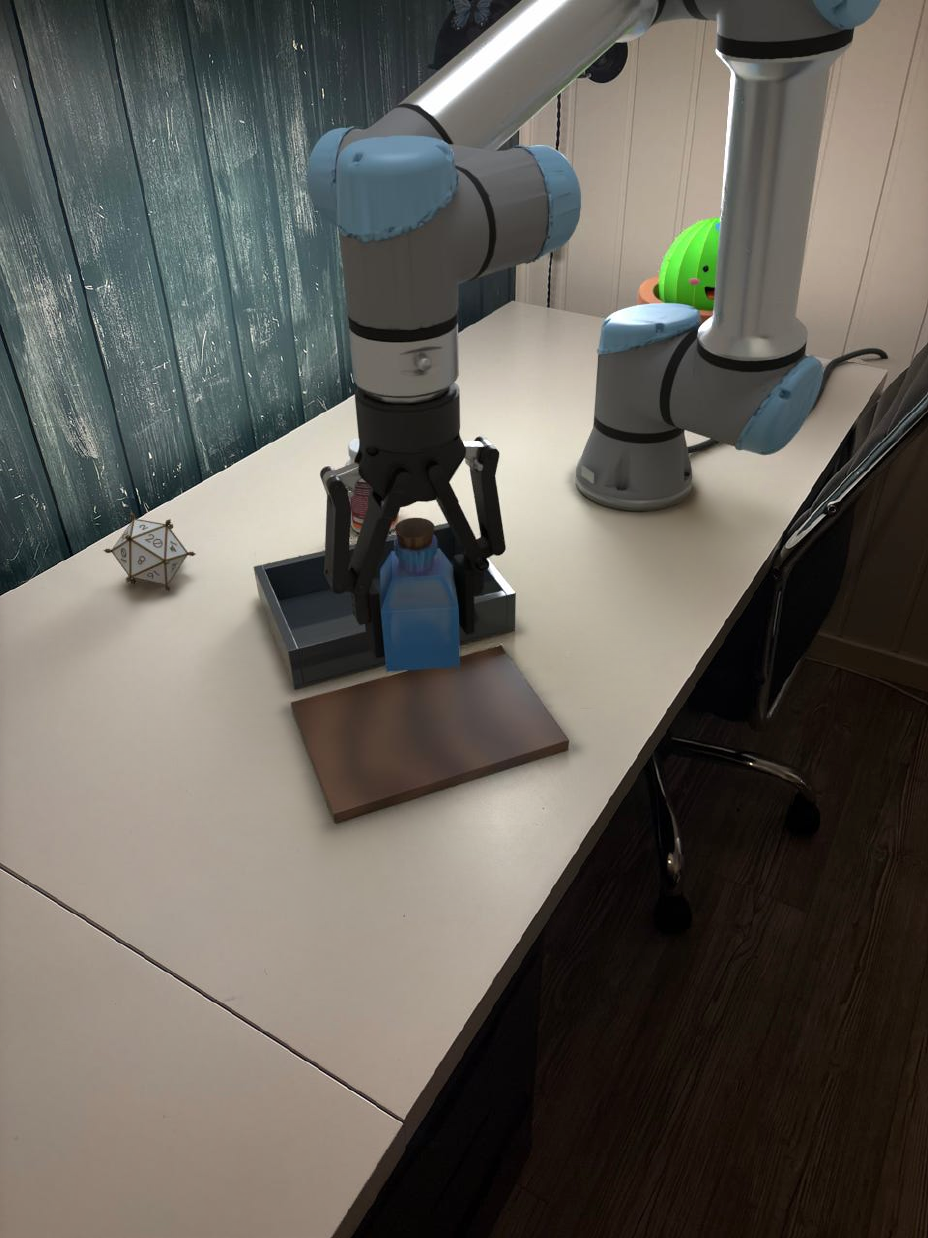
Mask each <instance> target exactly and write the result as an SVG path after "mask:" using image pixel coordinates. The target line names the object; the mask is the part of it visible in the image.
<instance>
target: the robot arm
mask: <svg viewBox="0 0 928 1238" xmlns="http://www.w3.org/2000/svg"><path fill="white" fill-rule="evenodd" d="M881 2H882V0H520V2H518V3H517V4H516V5H515V6H513V7H512V8H511V9H510V10H509V11H507V12H506V13H505V14H504V15H502V16H501V17H500V18H499V19H498V20H496V22H495V23H493V24H492V25H491V26H489V27H488V28H487V29H486V30H485V31H483V32H482V34H480V35H479V36H478V37H477V38H476V39H474V40H472V41H471V43H469V44H468V45H467V46H466V47H465V48H463V50H461V51H460V52H459V53H458V54H457V55H455V56H453V58H452V59H450V60H449V61H448V62H447V63H446V64H444V65H443V67H441V68H440V69H439V70H437V71H436V72H435V73H434V74H432V75H431V77H429V78H428V79H426V81H424V82H423V83H422V84H421V85H419V87H417V88H416V89H415V90H414V91H413V92H411V93H410V94H409V95H408V96H407V97H406V98H404V99H403V100H402V101H401V102H400V103H398V104H397V105H396V106H395V107H393V108H392V109H391V110H390V111H388V112H387V113H386V114H385V115H383V116H382V117H381V118H380V119H378V120H377V121H376V122H375V123H374V124H372V125H371V126H370V127H368V128H365V129H364V127H362V126H357V125H356V126H354V125H353V126H350V127H339V128H334V129H331V130H329V131H327V132H326V133H324V134H323V135H322V136H321V137H320V138H319V139H318V141H317V142H316V143H315V145H314V147H313V149H312V151H311V153H310V156H309V158H308V159H309V160H308V162H307V163H308V164H307V169H306V172H307V173H306V184H307V189H308V194H309V197H310V199H311V202H312V205H313V207H314V209H315V210H316V212H317V213H318V215H320V217H322V219H324V220H325V221H326V222H327V223H329V224H331V225H333V226H335V227H337V230H338V237H339V245H340V247H339V248H340V254H341V255H340V256H341V265H342V273H343V274H342V275H343V282H344V283H343V284H344V291H345V293H344V294H345V300H346V302H345V303H346V310H347V321H348V333H349V345H350V358H351V372H352V379H353V382H354V383H355V384H356V386H357V387H356V389H355V391H354V402H355V403H354V404H355V413H356V424H357V425H356V426H357V435H358V436H357V438H359V449H358V452H357V454H356V457H355V460H354V463H352V464H350V465H347V466H345V465H344V466H342V467H339V468H337V469H335V467H333V466H329V465H328V466H324V467H323V468H321V470H320V473H319V476H320V477H319V478H320V479H321V482H322V485H323V488H324V491H325V493H326V510H325V511H326V514H325V535H324V536H325V537H324V538H325V539H324V551H325V562H324V575H325V577H326V579H327V581H328V583H329V585H330V586H331V588H332V590H333V592H334V593H336V594H341V593H343V592H345V591H347V592H350V598H351V608H352V613H353V615H354V616H355V618H356V620H357V622H358V623H359V625H363V624H365V629H366V639H367V642H368V644H369V646H370V648H371V650H372V652H373V653H374V655H375V657H376V659H377V658H381V657H385V653H384V641H383V629H382V618H381V606H380V595H379V592H378V590H377V588H376V587H375V585H374V583H373V582H372V581H373V578H374V575H375V572H376V569H377V566H378V563H379V560H380V557H381V554H382V551H383V548H384V545H385V542H386V539H387V536H389V533H390V531H389V530H390V527H391V524H392V522H393V521H395V520H396V519H397V516H398V513H399V514H400V510H401V508H405V507H409V506H411V505H413V504H416V503H419V502H421V503H422V502H423V503H428V502H432V501H436V503H437V505H438V507H439V509H440V510H441V513H442V514H443V516H444V519H445V520H446V523H448V524H449V526H450V528H451V530H452V532H453V534H454V536H455V538H456V540H457V542H458V544H459V546H460V548H461V550H462V551H463V553H464V557H463V555H462V554H460V555H455V556H453V568H454V580H455V587H456V594H457V601H458V610H459V625H460V626H461V628H462V629H463V631H464V632H465V633H466V635H468V634H472V633H475V631H474V596H477V595H481V594H482V592H483V589H484V584H483V583H484V580H483V579H484V571H486V570H487V569H488V567H489V561H488V560H487V559H489V558H491V557H492V556H496V557H500V556H502V555H503V554H504V553H505V552H506V548H507V546H506V540H505V532H504V527H503V526H504V525H503V520H502V519H503V518H502V512H501V506H500V498H499V492H498V485H497V479H496V474H497V471H498V470H497V469H498V464H499V460H500V450H499V449H497V447H495V445H494V444H492V443H491V441H490V440H489V439H488V438H487V437H485V436H484V435H479V436H477V437H476V438H475V439H473V441H469V440H467V441H465V440H464V441H463V439H462V437H461V433H460V430H461V399H460V398H461V397H460V396H461V395H460V387H459V384H458V383H457V382H456V381H457V380H458V378H459V376H460V365H459V364H460V363H459V361H460V360H459V358H460V356H459V354H460V353H459V285H461V284H464V283H467V282H472V281H474V280H476V279H478V278H482V277H484V276H487V275H491V274H494V273H497V272H501V271H504V270H507V269H510V268H513V267H516V266H519V265H523V264H525V265H526V264H527V265H528V264H531V263H535V262H536V261H538V260H540V259H541V257H544V256H546V255H548V254H551V253H553V252H555V251H557V250H559V249H561V248H562V247H563V246H565V245H566V244H567V243H568V242H569V241H570V239H571V238H572V237H573V235H574V233H575V232H576V230H577V226H578V224H579V222H580V217H581V209H582V193H581V192H582V191H581V185H580V182H579V178H578V176H577V173H576V171H575V169H574V167H573V166H572V164H571V162H570V161H569V160H568V159H567V158H566V156H564V155H563V153H561V152H560V151H559V150H557V149H556V148H553V147H551V146H549V145H544V144H536V145H535V144H534V145H529V146H528V145H526V146H525V145H522V144H516V145H514V146H512V147H510V148H509V149H507V150H505V149H504V150H499V148H501V147H502V146H503V145H504V144H505V143H506V142H507V141H508V140H510V138H512V137H513V136H514V135H515V134H516V133H517V132H518V131H519V130H520V129H521V128H523V127H524V126H525V125H526V124H527V123H528V122H529V121H530V120H532V119H533V118H534V117H535V116H536V115H537V114H539V112H541V111H542V109H544V108H545V107H546V106H548V104H549V103H550V102H551V101H553V100H554V99H555V98H556V97H557V96H558V95H559V94H560V93H561V92H563V90H565V89H566V88H567V87H568V86H569V85H570V84H571V83H572V82H574V81H575V80H576V79H577V78H578V77H579V76H580V75H582V74H583V73H584V71H586V70H587V69H588V68H590V66H591V65H592V64H593V63H595V62H596V61H597V60H598V59H600V57H601V56H603V54H604V53H606V52H607V51H608V50H609V49H610V48H612V46H613V45H615V44H616V43H628V42H633V41H635V40H636V39H638V38H640V37H641V36H642V35H643V34H644V33H646V32H647V31H648V30H649V29H650V28H651V27H653V26H655V25H658V24H661V23H665V22H671V21H677V20H698V21H713V22H717V25H716V26H717V28H716V44H715V45H716V46H715V53H716V55H717V57H718V58H719V59H721V61H722V62H723V63H724V64H725V65H726V67H727V68H729V70H730V73H731V75H730V88H729V98H728V114H727V126H726V139H725V150H724V151H725V152H724V165H723V178H722V189H721V192H722V193H721V203H720V204H721V205H720V216H719V218H720V230H719V243H718V256H717V269H716V282H715V295H714V308H713V316H712V317H710V318H709V319H708V320H707V321H705V322H704V323H703V324H702V325H701V326H700V324H701V321H702V319H701V318H700V312H699V311H698V310H697V309H695V308H694V307H692V306H689V305H684V304H676V303H653V304H644V305H637V304H636V305H633V306H629V307H624V308H622V309H619V310H617V311H615V312H613V313H611V314H610V315H608V316H607V317H606V318H605V319H604V321H603V322H602V325H601V328H600V329H601V330H600V335H599V336H600V337H599V340H598V341H599V343H598V348H597V350H596V353H597V365H596V369H597V370H596V380H595V381H596V382H595V395H594V397H595V398H594V408H593V409H594V410H593V411H594V412H593V413H594V414H593V424H592V429H591V431H590V434H589V436H588V438H587V441H586V443H585V446H584V448H583V451H582V453H581V456H580V458H579V460H578V461H577V466H576V470H575V484H576V486H577V489H578V491H579V492H580V493H582V495H584V496H585V497H586V498H588V499H589V500H591V501H592V502H595V503H597V504H600V505H603V506H606V507H608V508H611V509H612V508H613V509H618V510H623V511H632V512H647V511H648V512H649V511H656V510H661V509H665V508H670V507H672V506H674V505H676V504H679V503H680V502H682V501H683V500H685V499H686V498H687V497H688V496H689V494H690V492H691V490H692V484H693V469H692V464H691V459H690V454H693V453H697V452H700V451H703V450H705V449H708V448H710V447H713V446H715V445H717V444H720V443H723V444H726V445H728V446H731V447H734V448H735V450H737V451H747V452H750V453H753V454H757V455H760V456H769V455H774V454H776V453H778V452H780V451H781V450H782V449H784V448H785V447H786V446H787V445H788V444H789V443H790V442H792V440H793V439H794V438H795V436H796V435H797V434H798V433H799V431H800V430H801V429H802V426H804V424H805V422H806V420H807V418H808V417H809V415H810V413H811V411H812V410H813V407H814V406H815V405H816V404H817V403H818V402H817V401H818V400H819V398H820V397H821V395H822V393H823V391H824V389H825V386H826V383H827V380H828V379H829V377H830V375H831V372H832V371H833V368H834V367H835V366H837V365H839V364H841V363H843V362H846V361H849V360H852V359H855V358H858V357H861V356H866V355H876V356H879V357H880V359H883V360H887V359H889V355H888V354H887V352H886V351H885V350H883V349H881V348H877V347H867V348H862V349H858V350H854V351H851V352H848V353H846V354H844V355H840V356H838V357H836V358H834V359H832V360H831V361H829V362H828V364H826V366H825V369H824V367H823V363H822V361H821V360H820V359H818V358H816V357H815V356H814V355H813V354H810V355H807V354H806V352H807V351H806V350H807V343H808V338H809V337H808V335H809V332H808V328H807V327H806V325H805V324H804V323H803V322H802V321H801V320H800V319H799V318H798V317H797V311H798V310H797V309H798V303H799V302H798V301H799V295H800V287H801V281H802V273H803V266H804V260H805V252H806V246H807V245H806V244H807V237H808V230H809V225H810V216H811V209H812V204H813V203H812V202H813V196H814V195H813V194H814V189H815V181H816V175H817V174H816V172H817V166H818V161H819V153H820V144H821V138H822V131H823V124H824V116H825V110H826V102H827V95H828V87H829V82H830V81H829V80H830V73H831V68H832V66H833V65H834V64H835V62H836V61H837V60H838V59H839V58H840V57H841V56H843V54H844V53H845V52H846V51H847V50H849V48H851V46H852V45H853V39H854V34H855V28H856V27H859V26H862V25H863V24H865V23H866V22H867V21H868V20H870V19H871V17H873V16H874V14H875V13H876V11H877V9H878V8H879V6H880V4H881ZM685 431H686V432H689V433H692V434H696V435H698V436H701V437H703V438H704V437H705V438H707V440H705V441H701V442H700V443H697V444H696V443H695V444H693V445H689V446H688V445H687V440H686V439H687V438H686V435H685ZM463 461H464V462H465V464H466V465H467V467H468V468H469V474H470V481H471V487H472V492H473V498H474V505H475V509H476V510H475V511H476V516H477V521H478V529H479V534H480V537H478V538H477V537H476V535H475V534H474V530H473V529H472V527H471V525H470V523H469V521H468V519H467V517H466V515H465V513H464V511H463V508H462V507H461V505H460V503H459V499H458V497H457V495H456V493H455V491H454V489H453V487H452V485H451V483H450V482H451V480H452V479H453V477H454V475H455V474H456V472H457V471H458V470H459V468H460V466H461V464H462V463H463ZM360 479H363V480H364V481H365V482H366V483H367V484H368V485H369V486H370V487H371V490H370V493H369V496H368V508H367V511H366V514H365V517H364V521H363V524H362V527H361V530H360V533H359V532H358V536H357V540H356V543H355V544H356V545H355V549H354V552H353V555H352V558H351V561H350V564H349V545H351V543H350V542H351V528H352V526H351V504H350V500H349V498H353V497H354V493H355V491H356V483H357V482H358V481H359V480H360ZM348 564H349V567H348Z"/></svg>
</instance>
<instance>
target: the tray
mask: <svg viewBox="0 0 928 1238" xmlns="http://www.w3.org/2000/svg"><path fill="white" fill-rule="evenodd" d="M434 526H435V528H434V533H433V534H434V535H435V536H436V538H437V548H440V550H441V551H442V552H443V553H444V555H445V556H446V557H447V559H448V560H449V561H450V563H451V564H452V565H453V556H455V555H460V554H462V555H463V557H464V553H463V551H462V550H461V548H460V546H459V544H458V542H457V540H456V538H455V536H454V534H453V532H452V530H451V528H450V526H449V524H448V522H446V523H441V524H435V525H434ZM396 537H397V535H396V534H391V535H388V536H387V539H386V542H385V545H384V548H383V551H382V554H381V557H380V560H379V563H378V566H377V569H376V572H375V575H374V578H373V581H372V582H373V583H374V585H375V587H376V588H377V590H378V592H379V595H380V606H381V583H380V569H381V568H382V566H383V564H384V563H385V561H386V559H387V558H388V556H389V555H390V553H391V551H394V540H395V538H396ZM355 545H356V543H352V544H351V543H350V545H349V564H350V561H351V558H352V555H353V552H354V549H355ZM487 560H488V561H489V567H488V569H487V570H486V571H484V579H483V580H484V583H483V584H484V589H483V592H482V594H481V595H477V596H474V631H475V633H472V634H468V635H466V633H465V632H464V631H463V629H462V628H461V626H460V625H459V646H462V645H465V644H470V643H474V642H477V641H481V640H485V639H488V638H493V637H496V636H500V635H504V634H507V633H511V632H515V631H516V610H517V609H516V605H517V602H516V601H517V599H516V598H517V593H516V592H515V590H514V589H513V588H512V586H511V585H510V584H509V582H508V581H507V580H506V579H505V578H504V576H503V574H501V573H500V571H499V570H498V568H497V567H496V566H495V565H494V563H492V561H491V560H490V559H489V558H488V559H487ZM324 562H325V550H321V551H317V552H312V553H307V554H302V555H299V556H293V557H291V558H290V557H289V558H286V559H285V558H284V559H281V560H276V561H272V562H267V563H263V564H259V565H258V564H257V565H254V566H253V574H254V578H255V583H256V588H257V589H256V590H257V594H258V599H259V604H260V607H261V609H262V611H263V614H264V616H265V618H266V621H267V624H268V626H269V629H270V632H271V634H272V637H273V639H274V642H275V644H276V646H277V649H278V652H279V654H280V656H281V659H282V661H283V664H284V667H285V669H286V672H287V675H288V677H289V679H290V682H291V684H292V687H293V690H299V689H302V688H306V687H309V686H314V685H317V684H321V683H325V682H328V681H332V680H335V679H339V678H343V677H347V676H351V675H354V674H358V673H361V672H366V671H369V670H373V669H377V668H380V667H384V666H386V661H385V657H381V658H377V659H376V657H375V655H374V653H373V652H372V650H371V648H370V646H369V644H368V642H367V639H366V629H365V624H363V625H359V623H358V622H357V620H356V618H355V616H354V615H353V613H352V608H351V598H350V592H347V591H345V592H343V593H341V594H336V593H334V592H333V590H332V588H331V586H330V585H329V583H328V581H327V579H326V577H325V575H324ZM349 564H348V567H349ZM453 572H454V568H453ZM381 618H382V615H381ZM382 629H383V627H382ZM383 641H384V638H383ZM384 653H385V650H384Z"/></svg>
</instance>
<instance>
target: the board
mask: <svg viewBox="0 0 928 1238" xmlns="http://www.w3.org/2000/svg"><path fill="white" fill-rule="evenodd" d="M290 709H291V713H292V716H293V719H294V720H295V723H296V726H297V728H298V731H299V733H300V736H301V739H302V741H303V744H304V747H305V749H306V752H307V754H308V757H309V760H310V762H311V764H312V768H313V770H314V773H315V775H316V778H317V780H318V784H319V786H320V788H321V791H322V794H323V796H324V799H325V801H326V804H327V807H328V809H329V812H330V814H331V817H332V820H333V823H334V824H337V823H340V822H343V821H347V820H350V819H353V818H356V817H359V816H362V815H365V814H369V813H371V812H374V811H375V812H376V811H378V810H381V809H384V808H388V807H390V806H393V805H397V804H400V803H403V802H406V801H409V800H413V799H415V798H419V797H422V796H425V795H429V794H432V793H435V792H437V791H441V790H444V789H447V788H450V787H453V786H457V785H460V784H463V783H466V782H470V781H472V780H475V779H479V778H482V777H485V776H489V775H491V774H495V773H498V772H502V771H504V770H507V769H511V768H513V767H516V766H520V765H524V764H527V763H529V762H533V761H536V760H539V759H542V758H545V757H549V756H551V755H555V754H558V753H562V752H564V751H567V750H569V746H570V745H569V744H570V739H569V738H568V736H567V735H566V734H565V732H564V731H563V729H562V728H561V726H560V725H559V724H558V723H557V721H556V719H555V718H554V717H553V716H552V714H551V712H550V711H549V710H548V708H547V707H546V705H545V704H544V703H543V701H542V700H541V699H540V697H539V696H538V695H537V693H536V692H535V690H534V689H533V688H532V686H531V685H530V684H529V682H528V681H527V679H526V677H525V676H524V675H523V673H522V671H520V669H519V668H518V667H517V665H516V664H515V662H514V661H513V659H512V657H510V656H509V654H508V653H507V651H506V650H505V649H504V647H503V645H502V644H500V645H496V646H492V647H489V648H485V649H482V650H478V651H474V652H470V653H466V654H463V655H460V667H450V668H436V669H421V670H406V671H400V672H398V673H393V674H390V675H386V676H382V677H379V678H375V679H371V680H368V681H365V682H361V683H357V684H353V685H350V686H346V687H342V688H337V689H335V690H332V691H328V692H324V693H320V694H317V695H312V696H309V697H306V698H301V699H298V700H293V701H291V702H290Z"/></svg>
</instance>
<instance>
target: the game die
mask: <svg viewBox="0 0 928 1238" xmlns="http://www.w3.org/2000/svg"><path fill="white" fill-rule="evenodd" d="M129 517H130V519H132V520H131V522H130V523H129V524H128V526H127V527H126V528H125V530H124V531H123V533H122V534H121V536H120V537H119V539H118V540H117V541H116V543H115V545H114V546H113V547H112V549H110V548H106V549H103V550H102V551H103V552H104V553H106V554H111V553H112V555H113V556H114V558H115V559H116V560H117V562H118V563H119V565H120V566H121V567H122V569H123V570H124V571H125V573H126V574H127V576H126V578H125V583H130V585H135V584H136V581H140V582H145V583H149V584H154V585H160V586H164V587H165V591H166V592H168V593H171V587H170V585H169V584H170V583H171V580H172V579H173V577H174V576H175V575H176V573H177V572H178V570H179V569H180V567H181V566H182V564H183V563H184V562H185V560H186V559H187V557H188V556H190V557H193V556H195V555H197V553H195V552H194V551H188V550H187V549H186V548H185V546H184V545H183V543H182V542H181V540H180V539H179V538H178V537H177V535H176V534H175V533H174V531H173V529H174V523H172V521H171V518H170V519H165V520H166V521H165V522H164V523H162V522H156V521H151V520H145V519H139V518H136V515H135V513H133V512H131V511H130V512H129Z"/></svg>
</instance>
